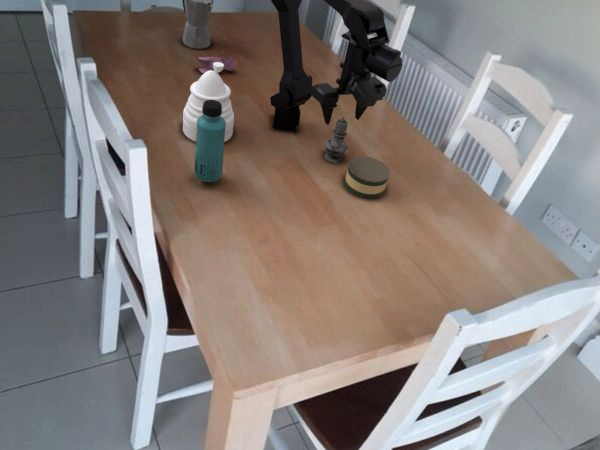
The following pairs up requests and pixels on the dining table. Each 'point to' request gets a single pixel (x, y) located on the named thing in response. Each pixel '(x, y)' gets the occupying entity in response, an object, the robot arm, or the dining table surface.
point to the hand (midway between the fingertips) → (342, 121)
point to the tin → (367, 177)
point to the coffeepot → (197, 23)
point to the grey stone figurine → (337, 143)
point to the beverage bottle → (210, 142)
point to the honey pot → (202, 91)
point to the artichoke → (210, 60)
